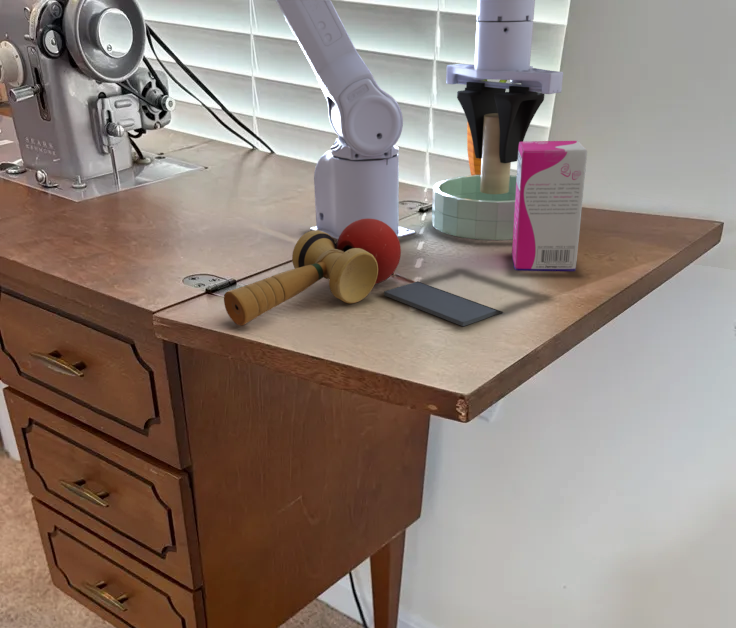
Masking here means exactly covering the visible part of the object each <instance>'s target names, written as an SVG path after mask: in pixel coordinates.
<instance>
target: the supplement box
mask: <svg viewBox="0 0 736 628" xmlns="http://www.w3.org/2000/svg"><path fill="white" fill-rule="evenodd" d="M587 161H588V149H587V148H586V147H585V146H583V144H581V142H580V141H579V140H533V141H531V140H530V141H529V140H528V141H527V140H526V141H523V142H519V148H518V160H517V161H516V162H517V164H516V176H517V179H516V195H515V212H514V228H513V240H512V246H511V257H512V262H513V263H512V264H513V268H514V270H515V271H519V272H520V271H521V272H522V271H523V272H576V270H577V260H578V252H579V251H578V250H579V240H580V232H581V231H580V229H581V220H582V209H583V199H584V189H585V179H586V167H587Z"/></svg>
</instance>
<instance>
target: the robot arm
mask: <svg viewBox="0 0 736 628" xmlns="http://www.w3.org/2000/svg"><path fill="white" fill-rule="evenodd" d="M274 2H275V3H276V4H277V6H278V9H279V11H280V12H281V14H282V16H283V17H284V19H285V22H286V23H287V25H288V26H289V29H290V30H291V32H292V34H293V36H294V37H295V40H296V41H297V43H298V45H299V47H300V49H301V51H302V52H303V54H304V56H305V58H306V59H307V61H308V63H309V65H310V67H311V69H312V71H313V73H314V75H315V77H316V80H317V83H318V85H319V87H320V89H321V91H322V93H323V95H324V97H325V99H326V102H327V109H328V110H327V111H328V112H327V113H328V121H329V123H330V127H331V128H332V130H333V131H334V133H335V134H336V135H337V136H338V137H337V138H335V141H334V143H333V145H332V146H331V147H330V149H329V150H327V151H325V152H324V153H323V154H322V155H321V156H320V158H319V159H318V161H317V163H316V165H315V168H314V173H313V174H314V175H313V187H314V208H315V209H314V210H315V225H316V226H312V227H310V228H309V231H312V230H319V231H322V232H325V233H327V234H329V235H330V236H331V237H332V238H333V239H336V240H338V238H339V236H340V234H341V233H342V231H343V230H344V229H345V228H346V227H347V226H348V225H350V224H351V223H353V222H355V221H357V220H360V219H366V218H367V219H376V220H379V221H382V222H384V223H385V224H387V225H388V226H390V227H391V228H392V229H393V231H394V232H395V233H396V235H397V237H398V239H400V238H403V237H407V236H411V235H414V234H416V231H415V230H412V229H409V228H406V227H403V226H399V221H400V220H399V219H400V218H399V214H400V212H399V210H400V209H399V207H400V206H399V205H400V202H399V201H400V199H399V198H400V195H399V194H400V193H399V192H400V188H399V184H400V183H399V182H400V180H399V178H400V177H399V176H400V174H399V172H400V169H399V168H400V167H399V165H400V164H399V162H400V161H399V158H400V155H399V152H400V151H399V149H400V148H399V146H397V145H396V144H397V142H398V141H399V139H400V137H401V135H402V132H403V127H404V116H403V112H402V109H401V107H400V105H399V103H398V102H397V100H396V99H395V98H394V97H393V96H392V95H390V94H389V93H388V92H386V91H385V90H384V89H383V88H381V87H380V85H379V84H378V82H377V81H376V79H375V77H374V75H373V73H372V72H371V70H370V68H369V67H368V65H367V64H366V63H365V61H364V59H363V58H362V57H361V55H360V54H359V52H358V51H357V49H356V47H355V45H354V43H353V41H352V39H351V37H350V35H349V34H348V31H347V29H346V27H345V25H344V23H343V21H342V20H341V18H340V15H339V14H338V11H337V9H336V8H335V5H334V4H333V2H332V0H274ZM535 4H536V0H477V4H476V6H477V7H476V24H475V25H476V27H475V28H476V30H475V46H474V47H475V49H474V64H468V63H466V64H465V63H456V64H455V63H454V64H447V65H446V79H445V80H446V81H445V82H446V85H464V86H465V85H466V87H464V90H458V91H457V92H456V99H457V101H458V103H459V105H460V106H461V108H462V110H463V113H464V115H465V118H466V121H468V124H469V127H470V131H471V136H472V141H473V146H474V151H475V156H476V158H479V159H481V158H482V143H483V123H484V115H486V114H492V113H498V117H499V126H500V144H499V155H500V163H510V162H511V163H515V162H518V148H519V142H524V141H525V137H526V135H527V133H528V129H529V128H530V125H531V123H532V121H533V119H534V117H535V115H536V113H537V112H538V110H539V108H540V107H541V105H542V103H543V102H544V101H545V95H553V94H554V95H555V94H561V93H562V91H563V80H564V79H563V78H564V71H557V70H549V69H542V68H536V67H533V65H531V57H532V44H533V32H534V31H533V30H534V18H535V7H536V5H535ZM481 80H487V81H481ZM490 80H491V81H490ZM492 80H498V81H492ZM500 80H507V81H510V82H506V83H502V82H499V81H500ZM507 90H508V91H507Z"/></svg>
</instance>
